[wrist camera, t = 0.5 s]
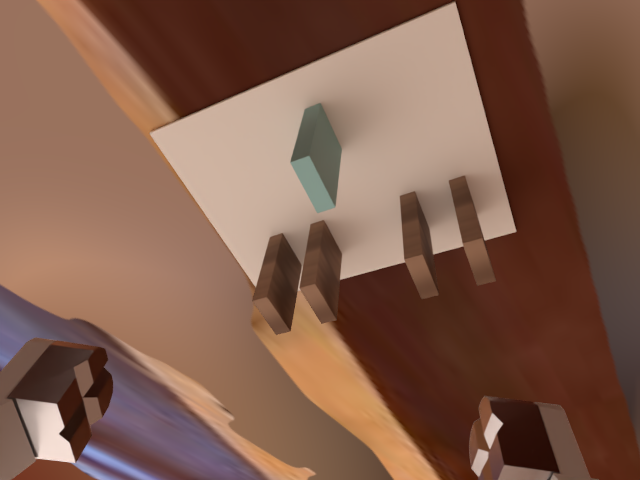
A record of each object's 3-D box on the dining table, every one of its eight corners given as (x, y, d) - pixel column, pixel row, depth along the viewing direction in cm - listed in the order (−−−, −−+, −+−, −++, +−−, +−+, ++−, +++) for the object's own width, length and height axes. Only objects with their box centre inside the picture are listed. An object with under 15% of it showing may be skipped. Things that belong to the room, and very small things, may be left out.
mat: (150, 131, 49) (149, 133, 48) (454, 0, 39) (455, 2, 39) (265, 297, 62) (264, 300, 61) (515, 229, 52) (516, 231, 52)
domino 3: (399, 195, 50) (404, 259, 42) (415, 190, 50) (422, 254, 42) (414, 232, 53) (421, 299, 45) (429, 228, 52) (439, 294, 45)
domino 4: (448, 180, 49) (462, 243, 41) (464, 175, 48) (482, 238, 40) (461, 219, 51) (477, 285, 44) (477, 214, 51) (495, 280, 43)
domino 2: (310, 224, 53) (299, 288, 46) (324, 219, 53) (315, 283, 45) (329, 257, 56) (321, 323, 48) (342, 253, 56) (336, 319, 48)
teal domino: (304, 109, 46) (290, 162, 38) (320, 102, 45) (309, 155, 37) (326, 154, 48) (317, 213, 40) (342, 149, 48) (335, 207, 40)
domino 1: (269, 237, 55) (252, 301, 47) (282, 232, 55) (266, 296, 47) (289, 269, 58) (276, 334, 50) (302, 265, 57) (290, 331, 49)
